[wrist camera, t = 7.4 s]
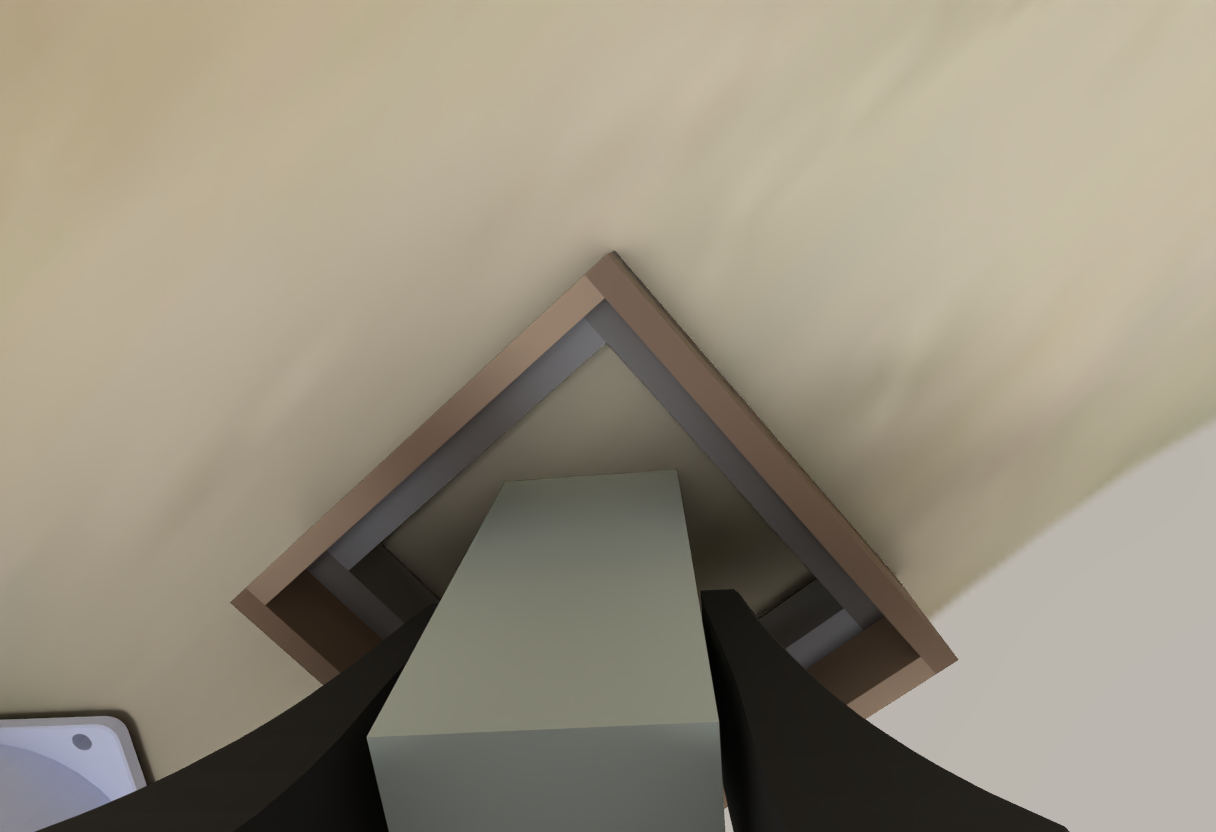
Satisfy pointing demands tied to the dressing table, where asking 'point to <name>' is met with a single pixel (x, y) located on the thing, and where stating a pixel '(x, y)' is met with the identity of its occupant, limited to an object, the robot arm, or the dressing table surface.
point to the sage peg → (560, 674)
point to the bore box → (710, 414)
